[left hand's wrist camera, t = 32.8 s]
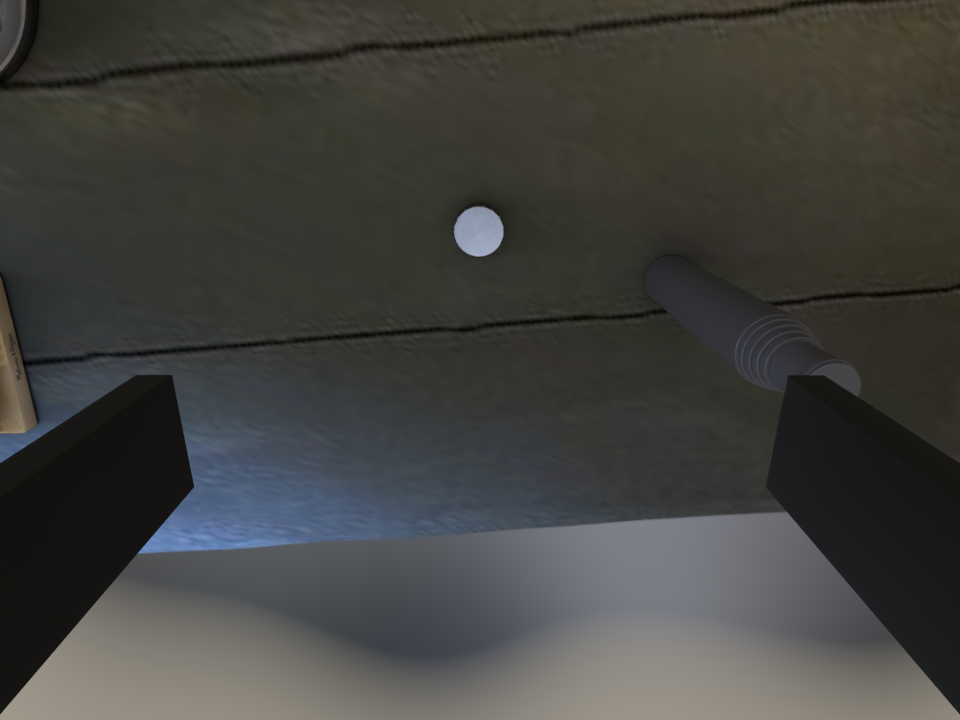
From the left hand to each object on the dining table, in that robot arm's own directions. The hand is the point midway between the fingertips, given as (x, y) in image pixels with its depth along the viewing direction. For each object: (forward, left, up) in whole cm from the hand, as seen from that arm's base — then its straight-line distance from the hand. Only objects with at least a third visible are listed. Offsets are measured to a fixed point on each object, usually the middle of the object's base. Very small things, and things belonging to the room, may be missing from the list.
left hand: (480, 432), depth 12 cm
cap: (0, 0, -34) cm, 34 cm away
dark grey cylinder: (+8, +14, -36) cm, 40 cm away
